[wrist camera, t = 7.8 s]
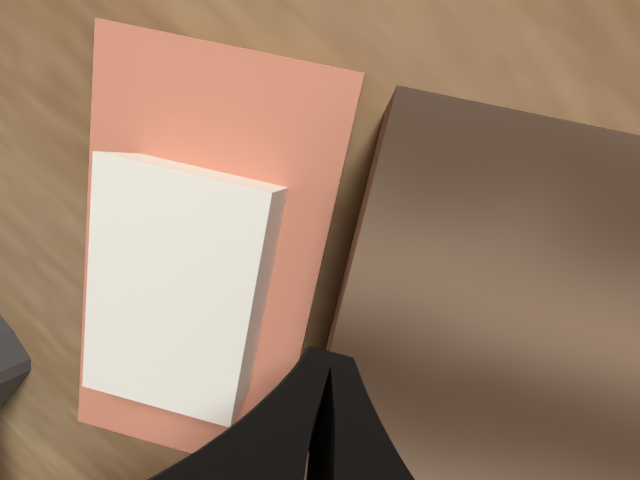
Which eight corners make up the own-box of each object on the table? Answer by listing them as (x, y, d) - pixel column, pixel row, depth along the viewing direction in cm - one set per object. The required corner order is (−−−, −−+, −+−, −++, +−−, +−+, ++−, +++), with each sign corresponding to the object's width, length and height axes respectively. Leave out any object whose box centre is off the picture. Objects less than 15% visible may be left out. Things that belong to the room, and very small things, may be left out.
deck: (642, 556, 15) (742, 694, 11) (298, 458, 16) (278, 554, 12) (858, 211, 11) (1132, 237, 7) (384, 111, 12) (396, 85, 8)
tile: (82, 386, 13) (124, 352, 15) (230, 428, 12) (250, 386, 15) (92, 150, 11) (140, 153, 13) (272, 192, 10) (288, 187, 13)
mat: (274, 469, 16) (272, 477, 16) (84, 415, 17) (78, 421, 16) (364, 76, 12) (364, 72, 11) (103, 22, 12) (95, 17, 12)
